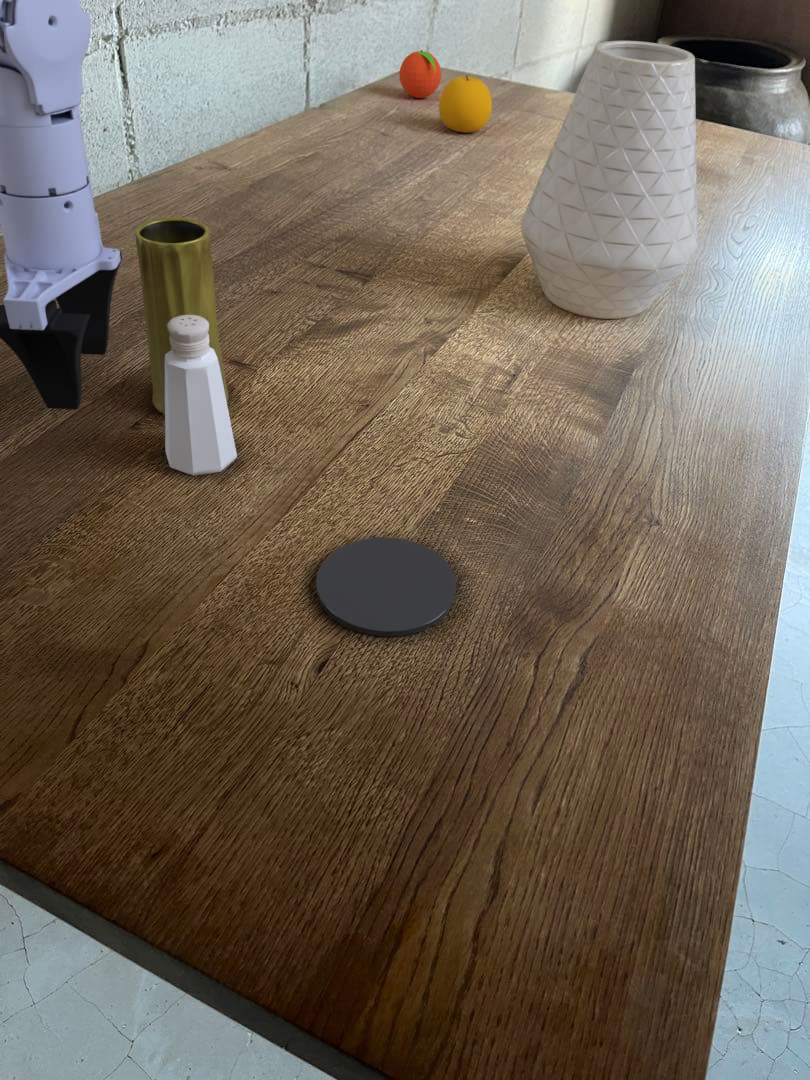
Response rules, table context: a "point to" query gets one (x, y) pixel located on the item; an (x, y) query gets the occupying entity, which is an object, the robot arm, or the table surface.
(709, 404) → the table surface
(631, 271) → the vase
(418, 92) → the clementine
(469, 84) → the apple
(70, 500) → the table surface
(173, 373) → the pepper shaker
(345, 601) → the slate coaster
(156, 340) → the vase
